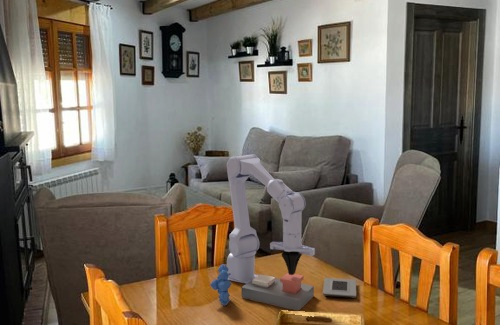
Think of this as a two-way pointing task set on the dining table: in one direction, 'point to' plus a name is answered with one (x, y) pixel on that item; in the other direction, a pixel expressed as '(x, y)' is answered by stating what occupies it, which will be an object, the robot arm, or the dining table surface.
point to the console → (278, 295)
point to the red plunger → (291, 283)
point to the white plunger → (263, 280)
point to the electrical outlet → (339, 287)
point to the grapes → (222, 284)
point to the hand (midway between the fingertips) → (292, 273)
